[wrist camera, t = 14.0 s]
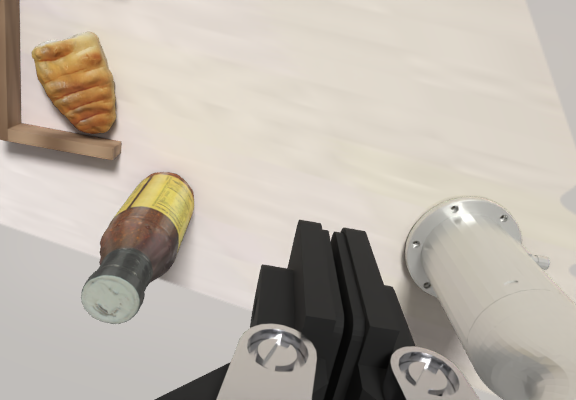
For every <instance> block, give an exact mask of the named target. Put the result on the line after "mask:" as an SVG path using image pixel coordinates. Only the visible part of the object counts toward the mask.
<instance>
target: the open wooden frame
mask: <svg viewBox="0 0 576 400" xmlns="http://www.w3.org/2000/svg"><path fill="white" fill-rule="evenodd" d="M0 140H4V141H10V142H15V143H21V144H26V145H32V146H37V147H43V148H48V149H54V150H59V151H65V152H70V153H76V154H81V155H87V156H92V157H98V158H103V159H109V160H113V159H114V158H116V157H117V156H118V155H119V154H120V153H121V142H120V141H115V140H109V139H104V138H99V137H93V136H88V135H82V134H77V133H72V132H66V131H61V130H55V129H50V128H45V127H39V126H34V125H29V124H23V123H21V85H20V18H19V0H0Z"/></svg>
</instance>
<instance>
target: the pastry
mask: <svg viewBox="0 0 576 400" xmlns="http://www.w3.org/2000/svg"><path fill="white" fill-rule="evenodd" d="M32 57H33V59H34V61H35V66H36V71H37V77H38V80H39V81H40V83H41V84H42V86H43V87H44V89H45V92H46V94H47V96H48V97H49V98H50V99H51V101H52V102H53V104H54V106H55V107H57V108H58V109H59V111H60V112H61V114H63V115H65V116H66V117H67V118H68V120H69V121H70V122H71V123H72V124H73V125H74V127H76V128H77V129H78V130H79V131H82V132H85V133H91V134H97V133H105V132H107V131H108V130H109V129H110V128H111V126H112V124H113V123H114V121H115V119H116V113H115V110H116V108H115V101H116V97H115V93H114V87H115V83H114V81H113V76H112V73H111V72H110V70H109V68H108V64H107V59H106V57H105V54H104V52H103V49H102V46H101V45H100V42H99V38H98V37H97V35H96V34H94V33H92V32H85V33H80V34H77V35H74V36H72V37H69V38H67V39H65V40H62V41H61V40H49V41H47V42H43V43H41V44H39V45H38V46H37V47H35V48H34V50H33V51H32Z"/></svg>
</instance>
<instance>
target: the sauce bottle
mask: <svg viewBox="0 0 576 400" xmlns="http://www.w3.org/2000/svg"><path fill="white" fill-rule="evenodd" d="M193 210H194V195H193V191H192V189H191V188H190V186H189V185H188V183H187V182H186V181H185V180H184V179H183V178H181V177H180V176H179V175H177V174H174V173H169V172H160V173H153V174H151V175H150V176H148V177H147V178H146V179H144V180H143V181H142V182H141V183H140V184H139V185H138V186H137V187H136V188H135V190H134V191H133V193H132V194H131V195H130V196H129V198H128V199H127V201H126V202H125V203H124V205H123V206H122V207H121V209H120V210H119V211H118V213H117V214H116V215H115V217H114V218H113V220H112V221H111V223H110V225H109V227H108V228H107V230H106V231H105V232H104V234H103V236H102V239H101V241H100V245H101V248H100V255H101V259H100V267H99V269H98V270H97V271H95V272H94V273H93V274H92V275H91V276H90V277H89V279H88V280H87V282H86V283H85V285H84V287H83V289H82V295H81V300H82V304H83V306H84V308H85V310H86V311H87V312H88V313H89V314H90V315H91V316H92V317H93V318H95V319H97V320H99V321H102V322H106V323H111V324H117V323H118V324H120V323H123V322H126V321H128V320H130V319H131V318H132V317H134V316H135V314H136V313H137V312H138V310H139V308H140V306H141V305H142V303H143V299H144V291H145V289H146V287H147V286H148V284H149V283H150V282H152V281H153V280H155V279H157V278H158V277H160V276H162V275H163V274H164V273H165V272H167V271H168V270H169V268H170V267H171V266H172V264H173V262H174V260H175V258H176V255H177V253H178V250H179V247H180V245H181V242H182V239H183V237H184V234H185V232H186V229H187V226H188V224H189V221H190V219H191V216H192V213H193Z"/></svg>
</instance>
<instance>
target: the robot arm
mask: <svg viewBox="0 0 576 400" xmlns="http://www.w3.org/2000/svg"><path fill="white" fill-rule="evenodd" d="M452 206H454V207H453V208H451V207H452ZM414 241H416V242H414ZM405 261H406V264H407V268H408V271H409V273H410V275H411V277H412V279H413V280H414V281H415V283H416V284H417V285H418V286H419V287H420V288H421V289H422V290H423V291H425V292H426V293H428V294H430V295H431V296H434V297H436V298H438V299H439V301H440V303H441V305H442V307H443V309H444V311H445V313H446V315H447V317H448V318H449V320H450V322H451V324H452V326H453V328H454V330H455V332H456V334H457V336H458V338H459V340H460V342H461V344H462V346H463V348H464V350H465V352H466V354H467V356H468V357H469V359H470V361H471V363H472V365H473V367H474V369H475V371H476V372H477V374H478V376H479V377H480V379H481V380H482V381H483V382H484V384H485V385H486V386H487V387H488V388H489V389H490V390H491V391H493V392H494V393H495V394H496V395H498V396H499V397H500V398H502V399H503V400H576V304H575V303H574V302H573V301H572V300H571V299H570V298H569V297H568V296H567V295H566V294H565V293H564V291H563V290H562V289H561V288H560V287H559V286H558V285H557V284H556V283H555V282H554V281H553V280H552V279H551V278H550V277H549V276H548V275H547V274H546V273H545V272H544V271H543V270H542V269H544V270H546V269H548V267H549V265H550V260H549V258H548V257H544V256H538V255H532V254H531V253H530V252H529V251H528V250H527V249H526V248H525V247H524V246H523V245H522V235H521V231H520V228H519V226H518V224H517V222H516V220H515V219H514V218H513V216H512V215H511V214H510V213H509V212H508V211H507V210H506V209H505V208H503V207H502V206H500V205H499V204H497V203H495V202H493V201H490V200H488V199H484V198H479V197H461V198H455V199H451V200H448V201H445V202H443V203H441V204H439V205H437V206H435V207H433V208H432V209H430V210H429V211H428V212H427V213H425V214H424V215H423V216H422V217H421V218H420V219H419V220H418V221H417V222H416V224H415V225H414V227H413V229H412V230H411V232H410V234H409V237H408V239H407V242H406V248H405ZM155 400H480V399H479V397H478V396H477V394H476V393H475V391H474V390H473V388H472V387H471V385H470V384H469V382H468V380H467V379H466V377H465V376H464V374H463V373H462V372H461V371H460V370H459V368H458V367H457V366H456V365H455V364H453V363H452V362H451V361H450V360H448V359H447V358H446V357H444V356H442V355H440V354H438V353H437V352H434V351H431V350H428V349H426V348H421V347H415V344H414V341H413V339H412V336H411V333H410V331H409V328H408V325H407V323H406V320H405V317H404V315H403V312H402V309H401V307H400V304H399V301H398V299H397V296H396V293H395V291H394V289H393V287H391V286H386V285H384V284H383V281H382V278H381V275H380V272H379V269H378V266H377V263H376V260H375V258H374V255H373V252H372V249H371V246H370V243H369V240H368V237H367V234H366V232H365V231H360V230H355V229H349V228H343V229H342V230H341V233H339V232H334V233H333V235H332V239H331V242H330V236H329V231H328V230H322V226H321V223H315V222H310V221H304V220H299V222H298V225H297V229H296V233H295V237H294V242H293V246H292V251H291V255H290V260H289V264H288V268H287V269H286V268H280V267H274V266H269V265H263V264H262V266H261V270H260V274H259V279H258V284H257V289H256V294H255V299H254V305H253V311H252V317H251V324H250V329H248V330H247V331H245V332H244V333H243V335H242V336H241V338H240V339H239V342H238V345H237V347H236V350H235V352H234V355H233V358H232V360H231V362H230V363H228V364H226V365H224V366H222V367H220V368H218V369H216V370H214V371H212V372H210V373H208V374H206V375H204V376H202V377H200V378H198V379H196V380H194V381H192V382H190V383H188V384H186V385H183V386H181V387H179V388H177V389H175V390H173V391H171V392H169V393H167V394H165V395H163V396H161V397H159V398H157V399H155Z"/></svg>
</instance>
